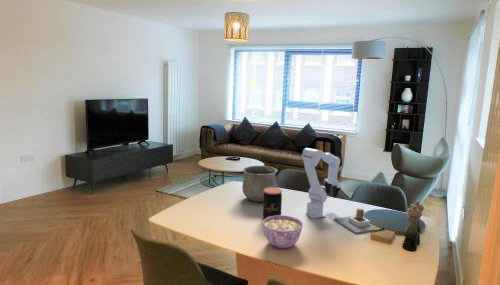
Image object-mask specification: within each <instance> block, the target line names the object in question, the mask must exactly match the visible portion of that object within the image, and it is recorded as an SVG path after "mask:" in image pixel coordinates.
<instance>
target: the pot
mask: <svg viewBox="0 0 500 285" xmlns="http://www.w3.org/2000/svg"><path fill="white" fill-rule="evenodd" d="M242 172H243V179H242V186H241V187H242V189H241V190H242V192H243V195H244V197H245V198H247V199H249V200H250V201H253V202H259V203H263V200H264V193H265V192H264V189H265V188H270V187H274V188H278V187H277V181H276V177H277V176H276V174H277V173H278V172H279V171H278V169H277V168H274V167H273V166H267V165H249V166H245V167H244V168H243V169H242Z"/></svg>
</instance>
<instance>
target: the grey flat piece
mask: <svg viewBox="0 0 500 285" xmlns="http://www.w3.org/2000/svg"><path fill="white" fill-rule="evenodd" d="M370 220H371V219H370ZM370 220H368V219H366V218H364V217H363V221H357V220H356V215H351V216H344V217H342V216H341V217H337V218H336V217H335V218H334V222H337V223H338V224H339V225H341V226H342V227H344V228H346V229H347V230H349V231H350V232H352V233H354V234H355V235H359V234H365V233H371V232H374V231H373V230H374V228H375V227H376V226H374V225H372V224H370Z"/></svg>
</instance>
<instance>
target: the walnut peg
mask: <svg viewBox="0 0 500 285" xmlns="http://www.w3.org/2000/svg"><path fill="white" fill-rule="evenodd" d="M355 212H356V213H355V216H356V220H357V221H363V216H364V212H365V210H364V209H363V208H356V210H355Z"/></svg>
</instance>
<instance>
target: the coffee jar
mask: <svg viewBox="0 0 500 285" xmlns="http://www.w3.org/2000/svg"><path fill="white" fill-rule="evenodd" d="M264 192H265V193H264V200H263V202H262V204H263V205H262V206H263V207H262V219H263V220H264V219H265V218H267V217H270V216H276V215H282V200H283V199H282V197H283V194H282V193H283V190H282V189H281V188H278V187H277V188H274V187H270V188H265V189H264Z"/></svg>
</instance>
